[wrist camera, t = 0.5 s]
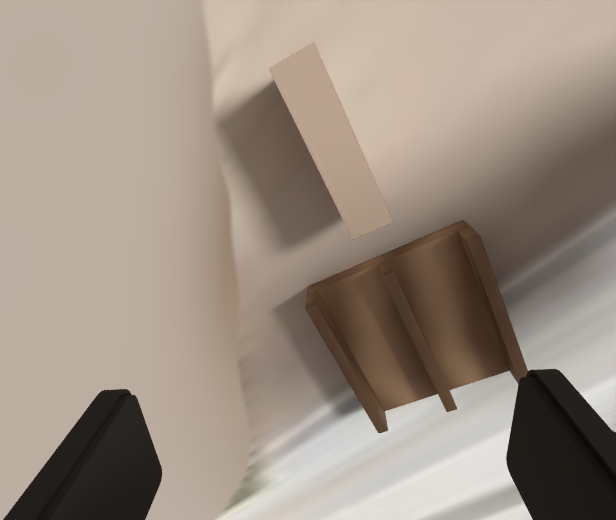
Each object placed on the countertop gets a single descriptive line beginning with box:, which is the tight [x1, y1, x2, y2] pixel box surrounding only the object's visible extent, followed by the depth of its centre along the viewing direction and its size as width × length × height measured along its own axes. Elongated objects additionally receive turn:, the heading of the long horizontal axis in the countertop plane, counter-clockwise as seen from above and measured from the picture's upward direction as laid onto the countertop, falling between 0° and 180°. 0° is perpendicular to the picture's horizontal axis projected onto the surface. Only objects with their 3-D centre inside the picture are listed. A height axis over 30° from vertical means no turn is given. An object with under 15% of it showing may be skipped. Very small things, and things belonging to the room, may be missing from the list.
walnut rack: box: [305, 220, 528, 433], centre depth 35 cm, size 15×16×4 cm
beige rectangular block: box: [269, 42, 393, 240], centre depth 27 cm, size 3×12×7 cm, turn 27°
